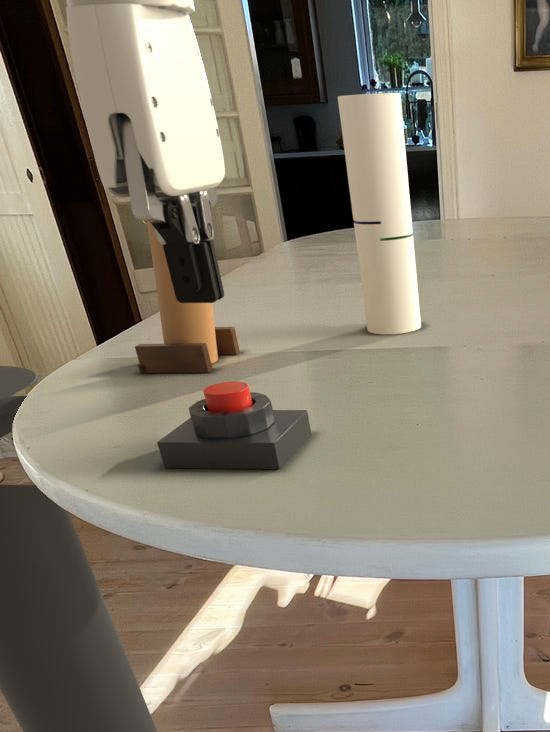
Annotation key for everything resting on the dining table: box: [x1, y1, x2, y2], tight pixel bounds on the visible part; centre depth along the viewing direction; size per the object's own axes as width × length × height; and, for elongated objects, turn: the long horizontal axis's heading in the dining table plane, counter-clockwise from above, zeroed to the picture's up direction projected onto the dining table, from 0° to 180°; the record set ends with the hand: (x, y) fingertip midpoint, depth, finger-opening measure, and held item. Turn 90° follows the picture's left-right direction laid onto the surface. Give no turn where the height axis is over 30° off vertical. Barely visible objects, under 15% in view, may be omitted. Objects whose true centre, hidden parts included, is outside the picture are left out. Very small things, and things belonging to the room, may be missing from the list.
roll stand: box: [134, 326, 241, 374], centre depth 87 cm, size 8×9×3 cm
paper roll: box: [146, 221, 219, 364], centre depth 83 cm, size 6×6×16 cm
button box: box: [156, 391, 312, 470], centre depth 62 cm, size 10×8×4 cm
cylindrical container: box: [337, 92, 422, 335], centre depth 91 cm, size 7×7×25 cm
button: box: [202, 381, 253, 413], centre depth 61 cm, size 4×4×2 cm
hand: (201, 300), depth 56 cm, fingers closed
